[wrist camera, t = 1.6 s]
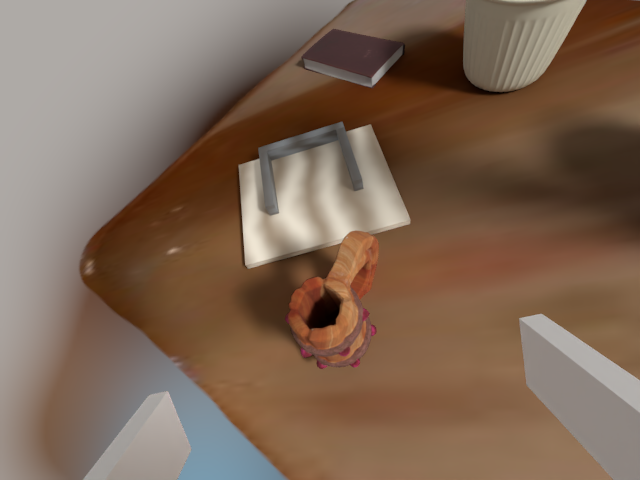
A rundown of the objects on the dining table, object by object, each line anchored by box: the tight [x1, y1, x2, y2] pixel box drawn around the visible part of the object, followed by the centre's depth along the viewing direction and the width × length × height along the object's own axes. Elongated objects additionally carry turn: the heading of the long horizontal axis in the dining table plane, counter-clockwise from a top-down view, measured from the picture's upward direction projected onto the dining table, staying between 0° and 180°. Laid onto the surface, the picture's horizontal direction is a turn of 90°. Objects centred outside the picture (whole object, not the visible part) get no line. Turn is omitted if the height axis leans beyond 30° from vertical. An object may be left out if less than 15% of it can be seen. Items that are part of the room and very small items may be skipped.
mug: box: [285, 230, 379, 369], centre depth 35 cm, size 15×8×15 cm, turn 148°
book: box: [302, 29, 405, 88], centre depth 69 cm, size 12×19×3 cm, turn 51°
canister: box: [463, 0, 586, 92], centre depth 49 cm, size 18×18×21 cm
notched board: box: [239, 122, 410, 269], centre depth 52 cm, size 26×22×4 cm
